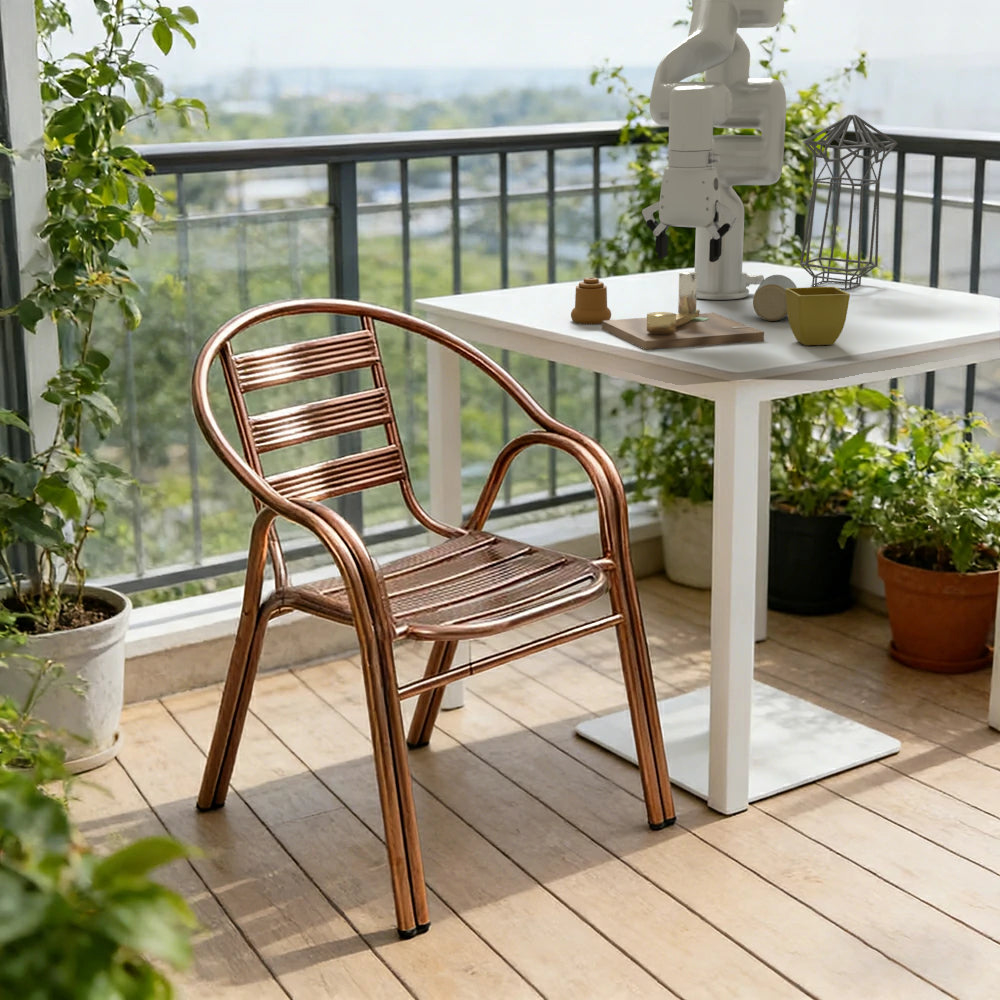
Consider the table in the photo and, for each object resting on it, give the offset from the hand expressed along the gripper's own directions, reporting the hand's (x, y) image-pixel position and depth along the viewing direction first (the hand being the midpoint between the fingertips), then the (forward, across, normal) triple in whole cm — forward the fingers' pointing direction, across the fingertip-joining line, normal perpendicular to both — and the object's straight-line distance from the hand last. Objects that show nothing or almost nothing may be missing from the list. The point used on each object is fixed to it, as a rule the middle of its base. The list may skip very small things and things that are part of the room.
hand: (688, 259), depth 250 cm
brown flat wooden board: (+12, -1, +5) cm, 14 cm away
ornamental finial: (+13, +19, 0) cm, 23 cm away
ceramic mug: (+13, -12, -17) cm, 25 cm away
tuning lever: (+10, 0, +7) cm, 12 cm away
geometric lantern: (+14, -13, -58) cm, 61 cm away
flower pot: (+13, -24, +3) cm, 28 cm away
